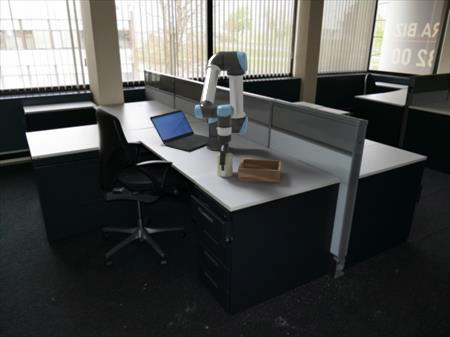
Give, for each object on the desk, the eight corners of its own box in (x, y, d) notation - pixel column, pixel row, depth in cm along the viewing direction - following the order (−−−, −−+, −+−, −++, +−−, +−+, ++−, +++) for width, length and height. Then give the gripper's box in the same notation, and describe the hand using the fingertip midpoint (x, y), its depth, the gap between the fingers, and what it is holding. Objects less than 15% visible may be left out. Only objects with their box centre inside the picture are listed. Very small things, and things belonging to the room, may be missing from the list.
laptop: (188, 152, 234) (187, 124, 227) (151, 143, 256) (148, 117, 248) (219, 141, 259) (219, 115, 252) (182, 133, 280) (181, 109, 273)
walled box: (242, 169, 204) (242, 158, 202) (280, 171, 200) (281, 160, 198) (238, 180, 189) (238, 168, 187) (279, 183, 185) (280, 171, 183)
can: (232, 170, 203) (232, 151, 198) (233, 176, 194) (233, 156, 190) (216, 171, 202) (216, 151, 198) (216, 177, 194) (216, 156, 189)
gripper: (221, 128, 200) (221, 165, 208) (213, 139, 180) (214, 179, 189) (234, 129, 199) (234, 165, 207) (227, 140, 179) (227, 180, 187)
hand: (224, 172), depth 198 cm, fingers closed on can, 9 cm apart
